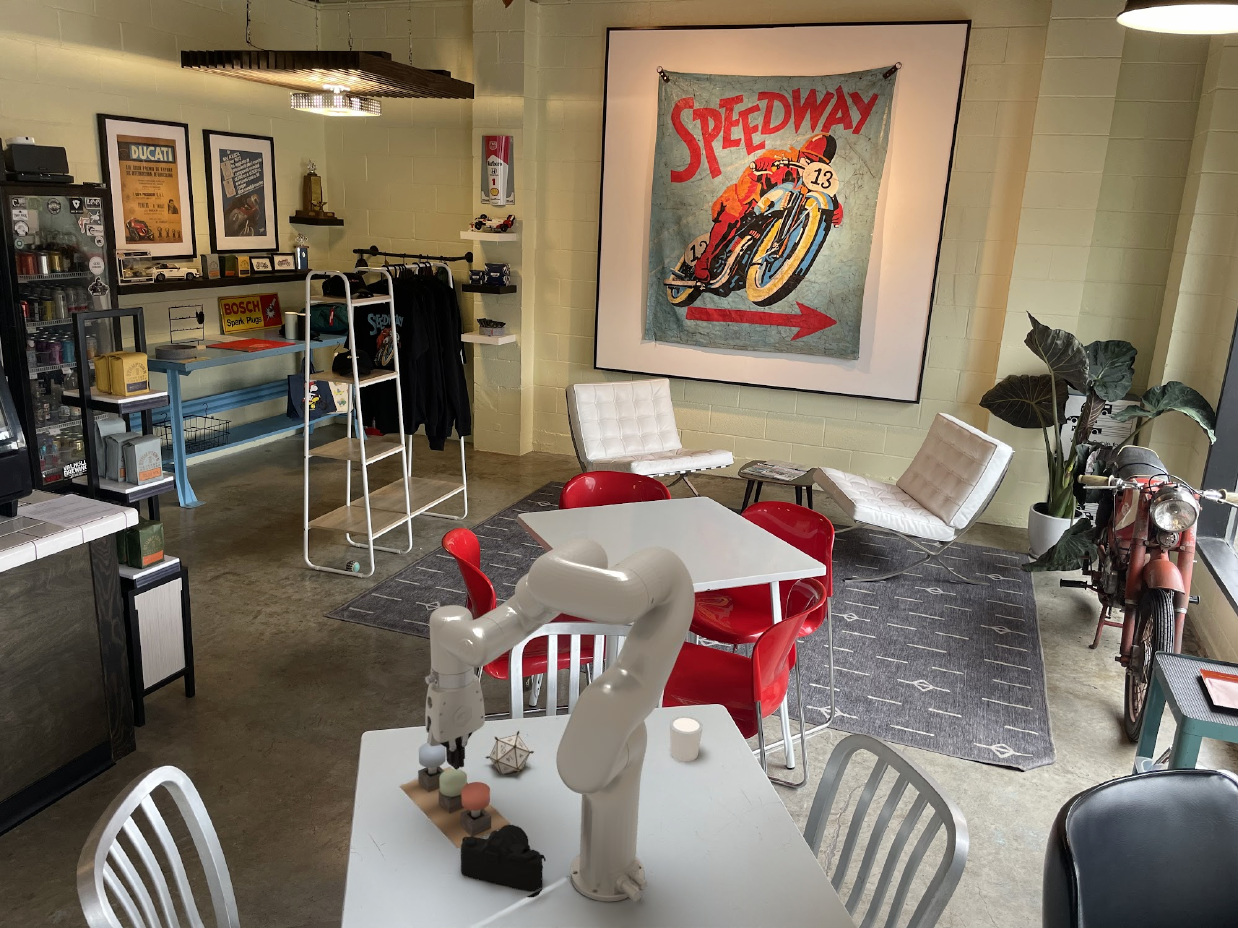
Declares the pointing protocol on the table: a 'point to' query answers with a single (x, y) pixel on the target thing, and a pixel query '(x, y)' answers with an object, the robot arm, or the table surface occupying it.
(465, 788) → the brick button
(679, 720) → the white cylinder
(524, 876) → the film camera
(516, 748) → the game die
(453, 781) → the sage button
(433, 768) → the slate button
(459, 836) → the wooden button base
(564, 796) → the table surface
